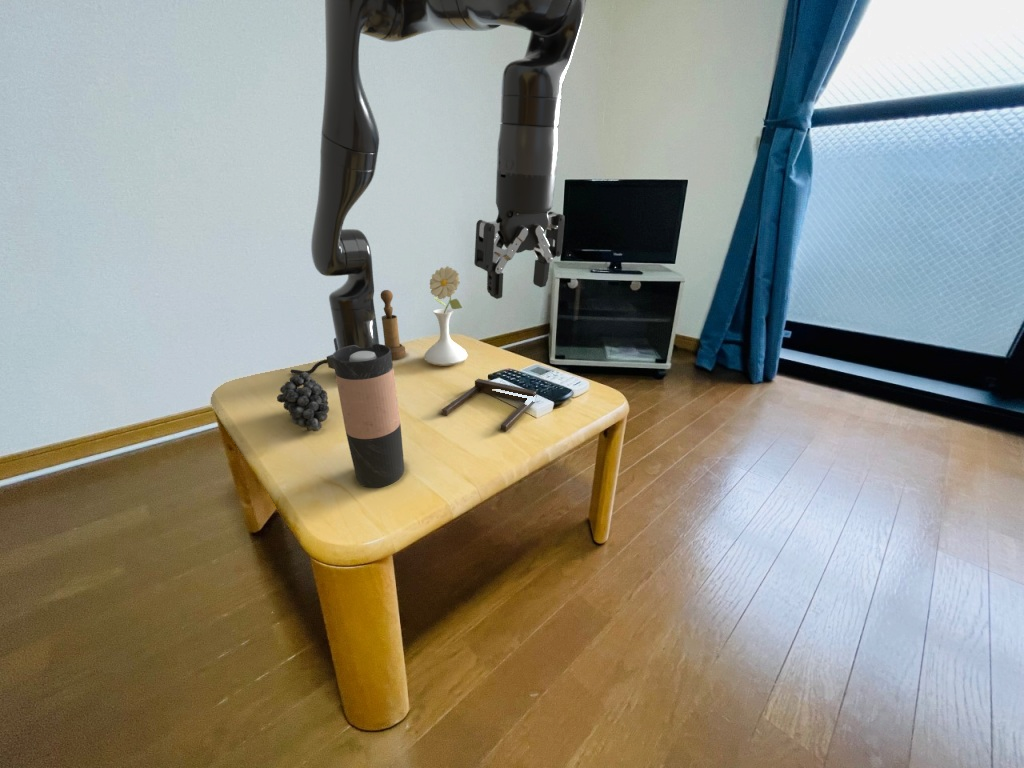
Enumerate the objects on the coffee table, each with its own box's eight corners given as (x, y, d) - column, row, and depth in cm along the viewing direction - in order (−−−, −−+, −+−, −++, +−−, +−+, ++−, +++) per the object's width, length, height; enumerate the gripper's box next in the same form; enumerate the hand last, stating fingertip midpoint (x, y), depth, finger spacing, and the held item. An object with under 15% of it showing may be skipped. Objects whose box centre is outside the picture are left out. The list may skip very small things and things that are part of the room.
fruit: (319, 390, 66) (309, 360, 78) (270, 415, 64) (267, 380, 75) (344, 427, 71) (331, 394, 83) (299, 452, 69) (292, 414, 80)
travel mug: (378, 496, 56) (356, 366, 48) (344, 477, 60) (318, 354, 51) (416, 468, 62) (403, 349, 54) (383, 453, 66) (366, 339, 57)
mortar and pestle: (399, 361, 104) (391, 293, 97) (376, 359, 106) (367, 292, 98) (409, 353, 110) (403, 288, 103) (388, 351, 112) (380, 287, 104)
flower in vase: (416, 360, 105) (407, 264, 94) (451, 351, 112) (446, 260, 102) (443, 375, 96) (437, 270, 86) (480, 364, 103) (478, 266, 93)
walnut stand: (442, 414, 78) (441, 403, 77) (478, 388, 90) (478, 378, 89) (506, 431, 73) (506, 420, 72) (536, 401, 84) (536, 391, 83)
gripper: (547, 163, 56) (536, 275, 65) (462, 165, 48) (464, 292, 57) (586, 170, 51) (569, 290, 60) (500, 174, 43) (495, 310, 52)
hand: (518, 291), depth 59 cm, fingers open, 8 cm apart
